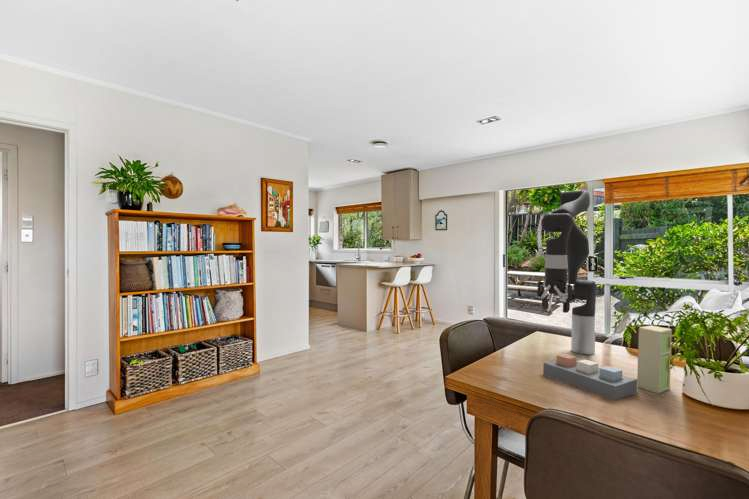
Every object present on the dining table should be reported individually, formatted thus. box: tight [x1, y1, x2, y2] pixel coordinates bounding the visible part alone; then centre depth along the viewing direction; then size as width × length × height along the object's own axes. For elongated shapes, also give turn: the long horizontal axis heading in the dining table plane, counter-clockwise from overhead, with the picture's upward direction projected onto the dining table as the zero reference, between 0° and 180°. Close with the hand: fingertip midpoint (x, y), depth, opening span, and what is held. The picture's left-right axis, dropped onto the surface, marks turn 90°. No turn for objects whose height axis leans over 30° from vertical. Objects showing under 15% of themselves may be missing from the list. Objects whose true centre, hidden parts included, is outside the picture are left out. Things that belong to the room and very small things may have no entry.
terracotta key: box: [556, 353, 578, 367], centre depth 139 cm, size 5×5×4 cm
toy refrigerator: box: [636, 325, 673, 394], centre depth 128 cm, size 8×7×21 cm
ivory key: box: [577, 359, 599, 374], centre depth 132 cm, size 5×5×4 cm
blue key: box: [599, 365, 623, 382], centre depth 125 cm, size 5×5×4 cm
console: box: [542, 359, 638, 401], centre depth 133 cm, size 13×26×4 cm, turn 29°
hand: (555, 310), depth 138 cm, fingers open, 8 cm apart
